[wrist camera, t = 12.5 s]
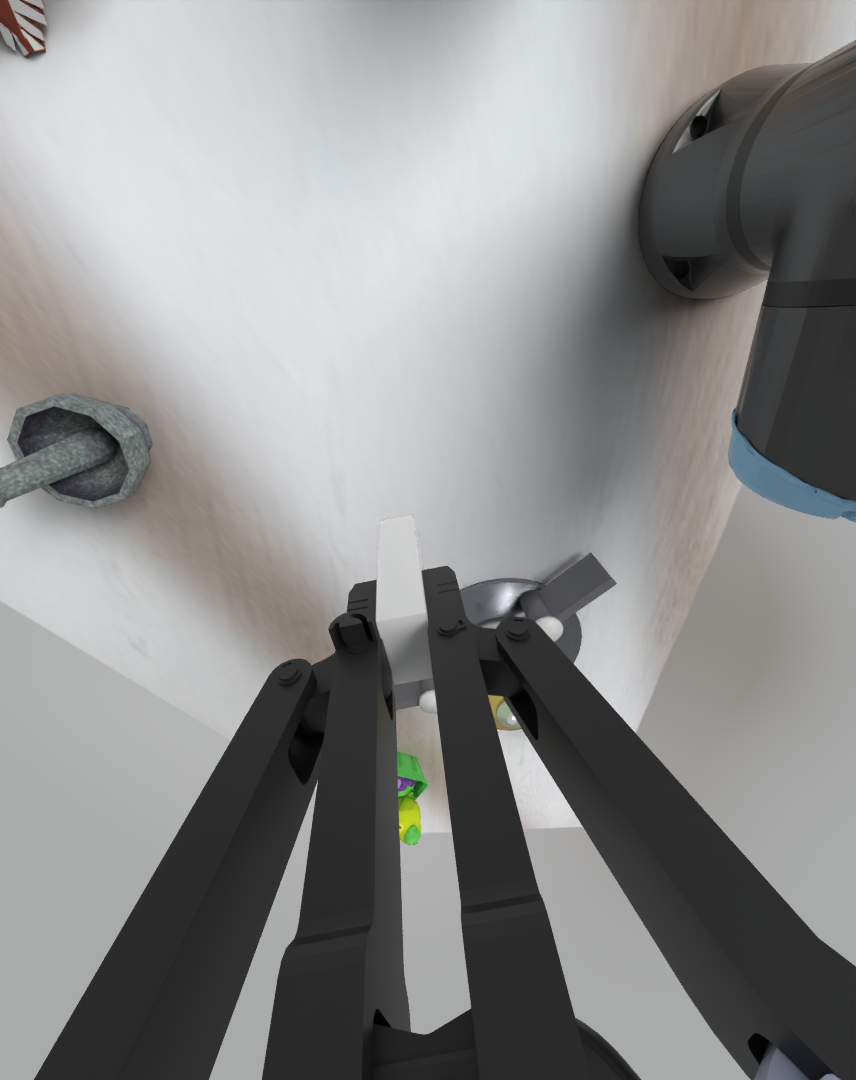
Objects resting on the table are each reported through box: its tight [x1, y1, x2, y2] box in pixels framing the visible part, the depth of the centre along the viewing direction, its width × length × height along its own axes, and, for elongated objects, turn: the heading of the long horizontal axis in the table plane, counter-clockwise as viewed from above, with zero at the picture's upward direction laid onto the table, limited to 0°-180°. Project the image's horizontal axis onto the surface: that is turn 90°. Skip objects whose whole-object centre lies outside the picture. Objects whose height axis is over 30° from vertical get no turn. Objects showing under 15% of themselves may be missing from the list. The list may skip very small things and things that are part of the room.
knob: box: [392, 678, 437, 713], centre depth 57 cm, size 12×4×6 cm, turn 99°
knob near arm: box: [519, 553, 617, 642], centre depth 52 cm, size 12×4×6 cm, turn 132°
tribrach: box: [460, 578, 582, 730], centre depth 56 cm, size 24×24×12 cm
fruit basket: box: [397, 752, 428, 845], centre depth 68 cm, size 11×9×11 cm
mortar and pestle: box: [0, 393, 153, 509], centre depth 37 cm, size 11×9×12 cm
